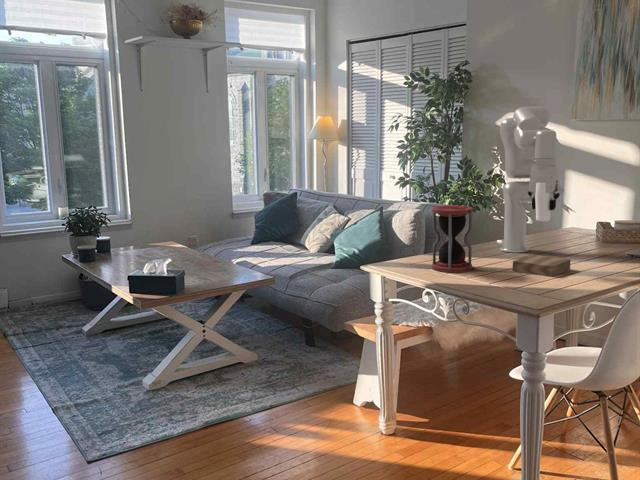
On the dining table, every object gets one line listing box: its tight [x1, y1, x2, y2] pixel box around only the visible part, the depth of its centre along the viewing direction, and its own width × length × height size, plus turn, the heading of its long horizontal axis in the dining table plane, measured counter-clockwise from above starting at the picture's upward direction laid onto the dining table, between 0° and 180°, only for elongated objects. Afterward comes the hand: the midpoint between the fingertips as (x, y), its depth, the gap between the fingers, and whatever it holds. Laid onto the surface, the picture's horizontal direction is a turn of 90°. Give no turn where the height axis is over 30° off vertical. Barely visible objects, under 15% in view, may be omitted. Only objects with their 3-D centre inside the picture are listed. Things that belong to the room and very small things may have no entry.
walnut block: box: [512, 254, 571, 277], centre depth 248 cm, size 16×16×4 cm
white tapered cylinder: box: [535, 183, 552, 222], centre depth 243 cm, size 7×7×15 cm
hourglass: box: [431, 204, 474, 273], centre depth 253 cm, size 16×16×25 cm
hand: (543, 208), depth 244 cm, fingers closed on white tapered cylinder, 6 cm apart
